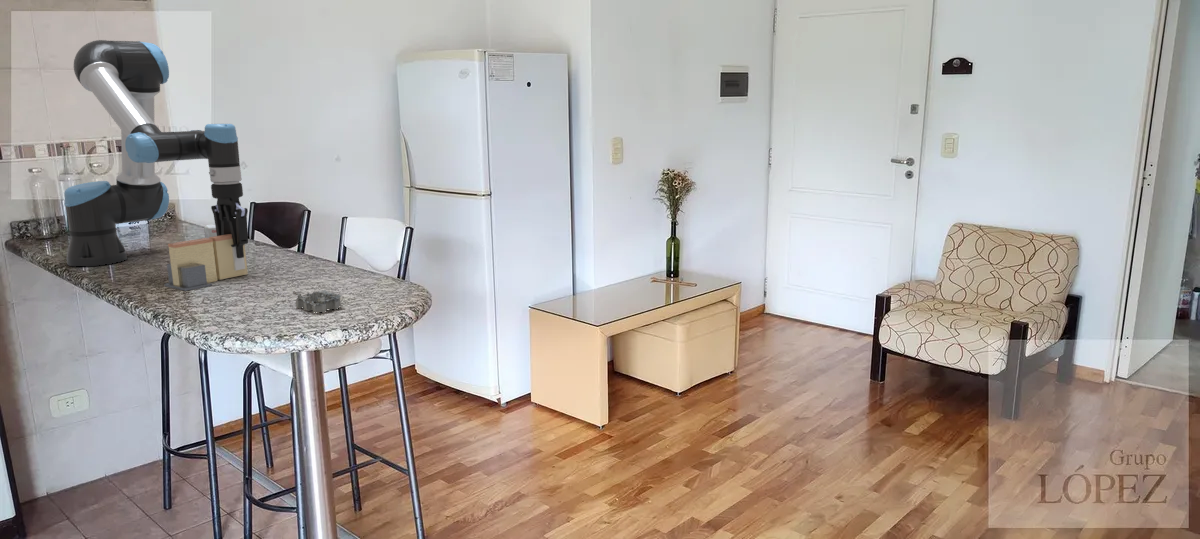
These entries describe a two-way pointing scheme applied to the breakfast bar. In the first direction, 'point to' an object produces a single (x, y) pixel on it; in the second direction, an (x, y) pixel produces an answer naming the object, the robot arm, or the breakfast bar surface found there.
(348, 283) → the breakfast bar surface
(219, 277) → the stub
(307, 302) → the grey flat lobed block
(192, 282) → the ticket holder
